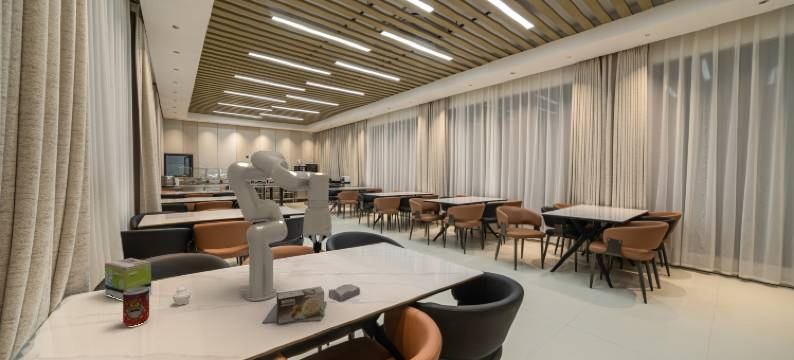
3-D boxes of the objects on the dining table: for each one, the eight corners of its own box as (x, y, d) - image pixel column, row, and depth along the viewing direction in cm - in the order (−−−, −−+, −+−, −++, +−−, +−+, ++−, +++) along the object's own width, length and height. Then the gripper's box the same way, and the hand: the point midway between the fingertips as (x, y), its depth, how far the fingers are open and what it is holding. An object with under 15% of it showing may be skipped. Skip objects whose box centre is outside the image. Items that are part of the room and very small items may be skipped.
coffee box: (320, 285, 119) (276, 291, 112) (324, 291, 113) (278, 298, 106) (320, 309, 119) (276, 317, 112) (324, 315, 113) (278, 324, 106)
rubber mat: (262, 323, 108) (262, 321, 108) (276, 304, 124) (276, 303, 124) (320, 321, 110) (320, 319, 110) (326, 302, 126) (326, 301, 126)
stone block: (326, 301, 132) (342, 302, 126) (325, 290, 132) (340, 290, 127) (346, 294, 141) (362, 294, 136) (345, 283, 142) (360, 283, 136)
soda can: (123, 330, 103) (123, 294, 103) (122, 323, 108) (122, 288, 108) (150, 323, 107) (150, 289, 107) (148, 317, 113) (148, 283, 112)
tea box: (104, 297, 131) (103, 262, 130) (131, 289, 140) (131, 257, 140) (124, 303, 125) (124, 266, 125) (152, 294, 134) (152, 260, 134)
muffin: (171, 304, 124) (171, 286, 124) (188, 299, 128) (188, 283, 128) (174, 308, 120) (174, 290, 120) (193, 303, 124) (192, 286, 124)
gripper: (295, 205, 113) (295, 255, 113) (337, 206, 114) (336, 255, 115) (300, 203, 120) (299, 250, 121) (338, 204, 122) (338, 250, 122)
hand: (317, 252), depth 118 cm, fingers closed
